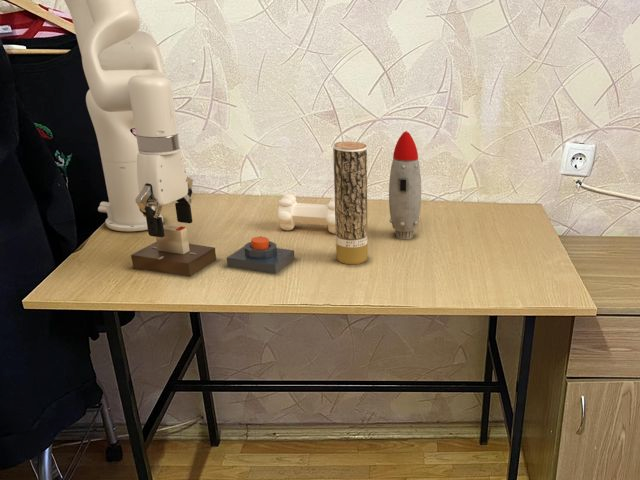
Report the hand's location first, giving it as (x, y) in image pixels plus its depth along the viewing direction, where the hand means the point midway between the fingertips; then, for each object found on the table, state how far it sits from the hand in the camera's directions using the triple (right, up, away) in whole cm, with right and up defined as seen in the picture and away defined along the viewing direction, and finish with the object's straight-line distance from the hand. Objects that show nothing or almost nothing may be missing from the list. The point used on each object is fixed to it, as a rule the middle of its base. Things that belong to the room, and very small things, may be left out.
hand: (171, 229), depth 146 cm
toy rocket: (+45, +3, +28) cm, 53 cm away
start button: (+17, -3, +6) cm, 18 cm away
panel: (-1, -7, +4) cm, 8 cm away
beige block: (-1, -4, +3) cm, 5 cm away
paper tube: (+35, -5, +12) cm, 37 cm away
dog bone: (+23, +4, +28) cm, 36 cm away
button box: (+16, -6, +7) cm, 19 cm away
